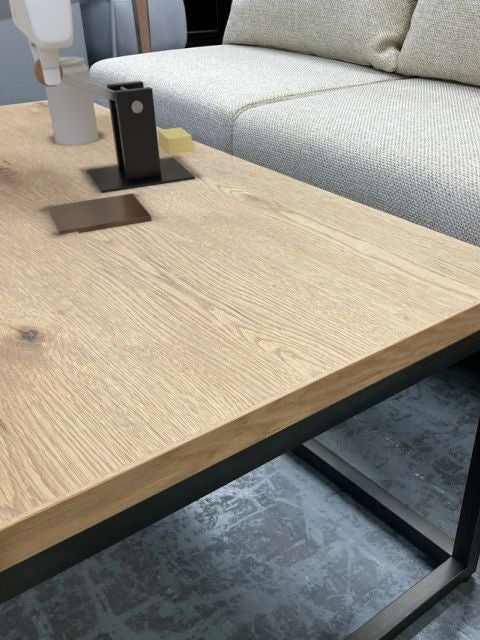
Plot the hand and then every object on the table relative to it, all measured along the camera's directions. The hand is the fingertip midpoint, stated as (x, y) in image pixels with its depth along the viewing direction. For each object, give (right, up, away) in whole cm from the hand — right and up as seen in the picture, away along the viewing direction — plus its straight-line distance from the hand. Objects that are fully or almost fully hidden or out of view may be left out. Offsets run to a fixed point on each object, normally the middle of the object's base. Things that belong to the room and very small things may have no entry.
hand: (49, 80), depth 81 cm
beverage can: (-4, +1, +25) cm, 25 cm away
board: (+6, -17, -1) cm, 18 cm away
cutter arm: (+4, -1, +3) cm, 5 cm away
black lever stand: (+8, -9, +11) cm, 16 cm away
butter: (+11, -2, +21) cm, 24 cm away
